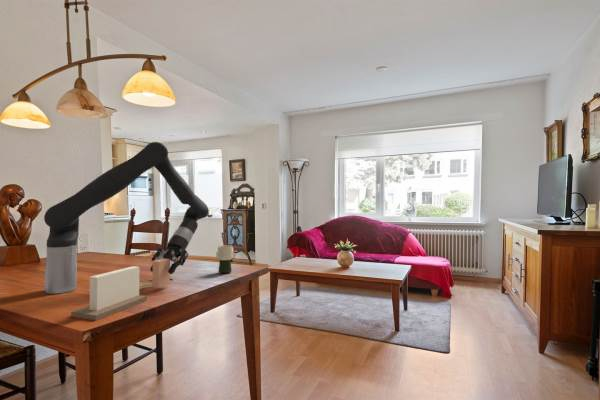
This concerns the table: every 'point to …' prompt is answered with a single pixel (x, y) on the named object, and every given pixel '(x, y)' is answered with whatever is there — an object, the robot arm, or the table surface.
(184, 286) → the table surface
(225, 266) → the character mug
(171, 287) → the table surface
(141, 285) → the parchment
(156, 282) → the stub
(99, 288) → the stand
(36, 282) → the table surface
